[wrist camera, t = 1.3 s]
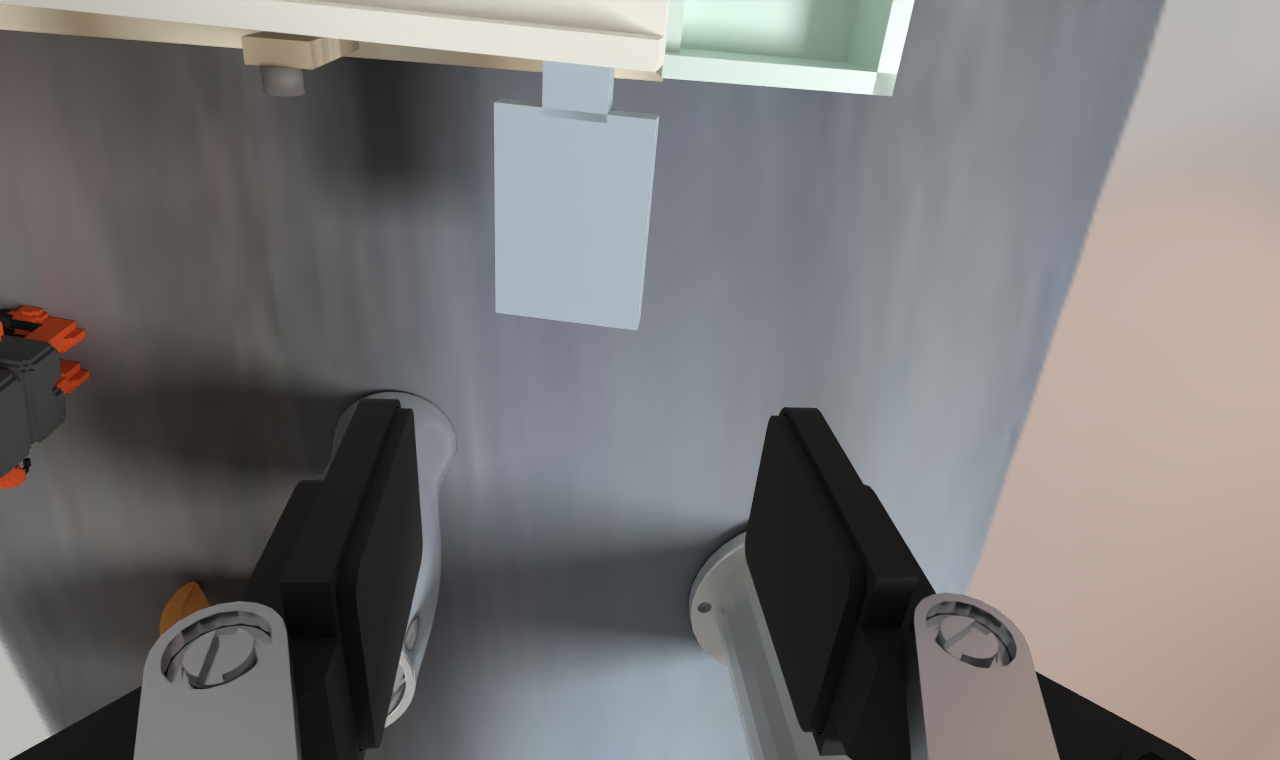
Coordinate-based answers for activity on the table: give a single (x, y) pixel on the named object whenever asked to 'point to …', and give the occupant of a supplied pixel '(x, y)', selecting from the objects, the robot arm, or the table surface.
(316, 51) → the stand
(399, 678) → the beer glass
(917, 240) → the table surface
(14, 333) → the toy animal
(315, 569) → the robot arm
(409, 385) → the table surface
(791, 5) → the tray
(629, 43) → the lever
